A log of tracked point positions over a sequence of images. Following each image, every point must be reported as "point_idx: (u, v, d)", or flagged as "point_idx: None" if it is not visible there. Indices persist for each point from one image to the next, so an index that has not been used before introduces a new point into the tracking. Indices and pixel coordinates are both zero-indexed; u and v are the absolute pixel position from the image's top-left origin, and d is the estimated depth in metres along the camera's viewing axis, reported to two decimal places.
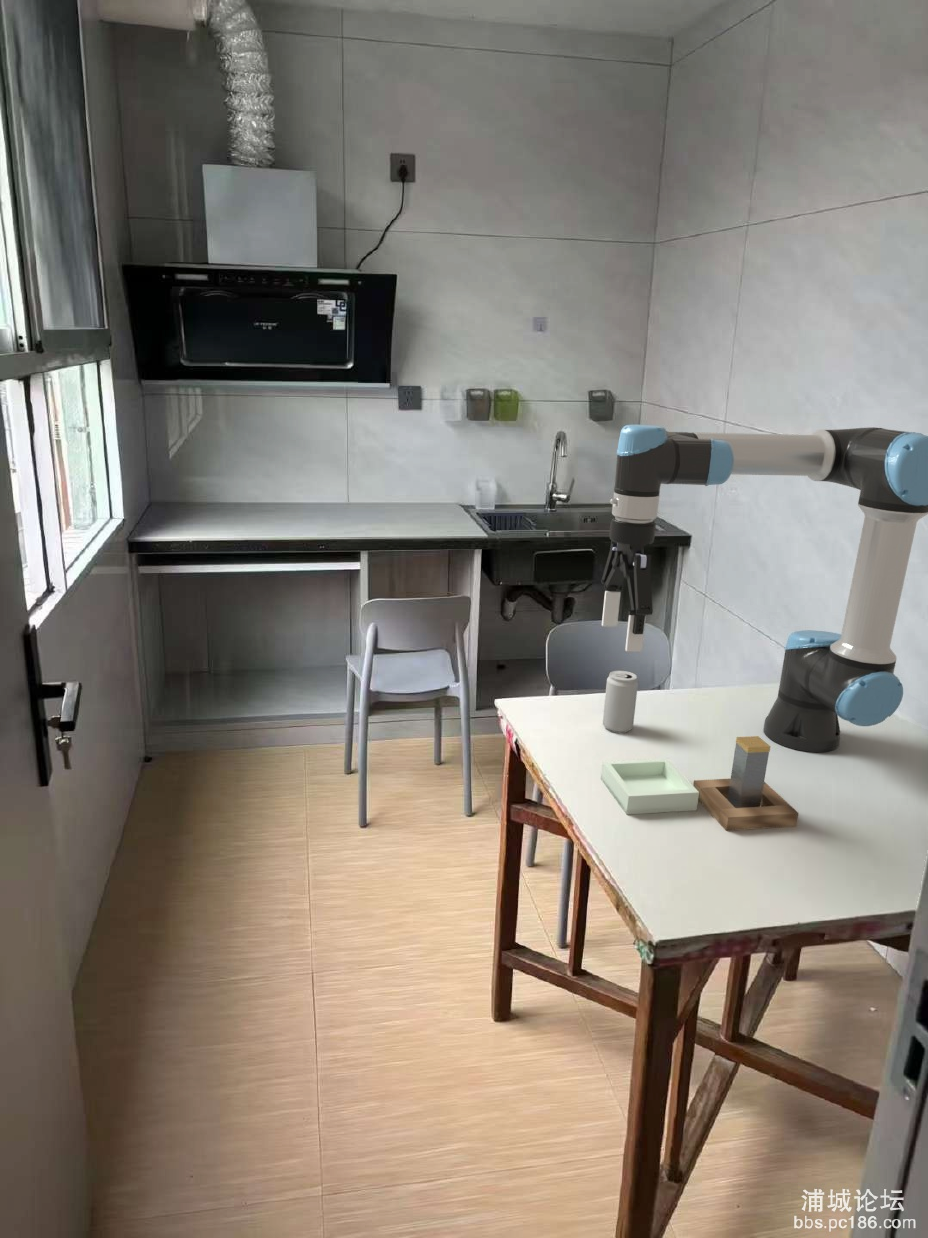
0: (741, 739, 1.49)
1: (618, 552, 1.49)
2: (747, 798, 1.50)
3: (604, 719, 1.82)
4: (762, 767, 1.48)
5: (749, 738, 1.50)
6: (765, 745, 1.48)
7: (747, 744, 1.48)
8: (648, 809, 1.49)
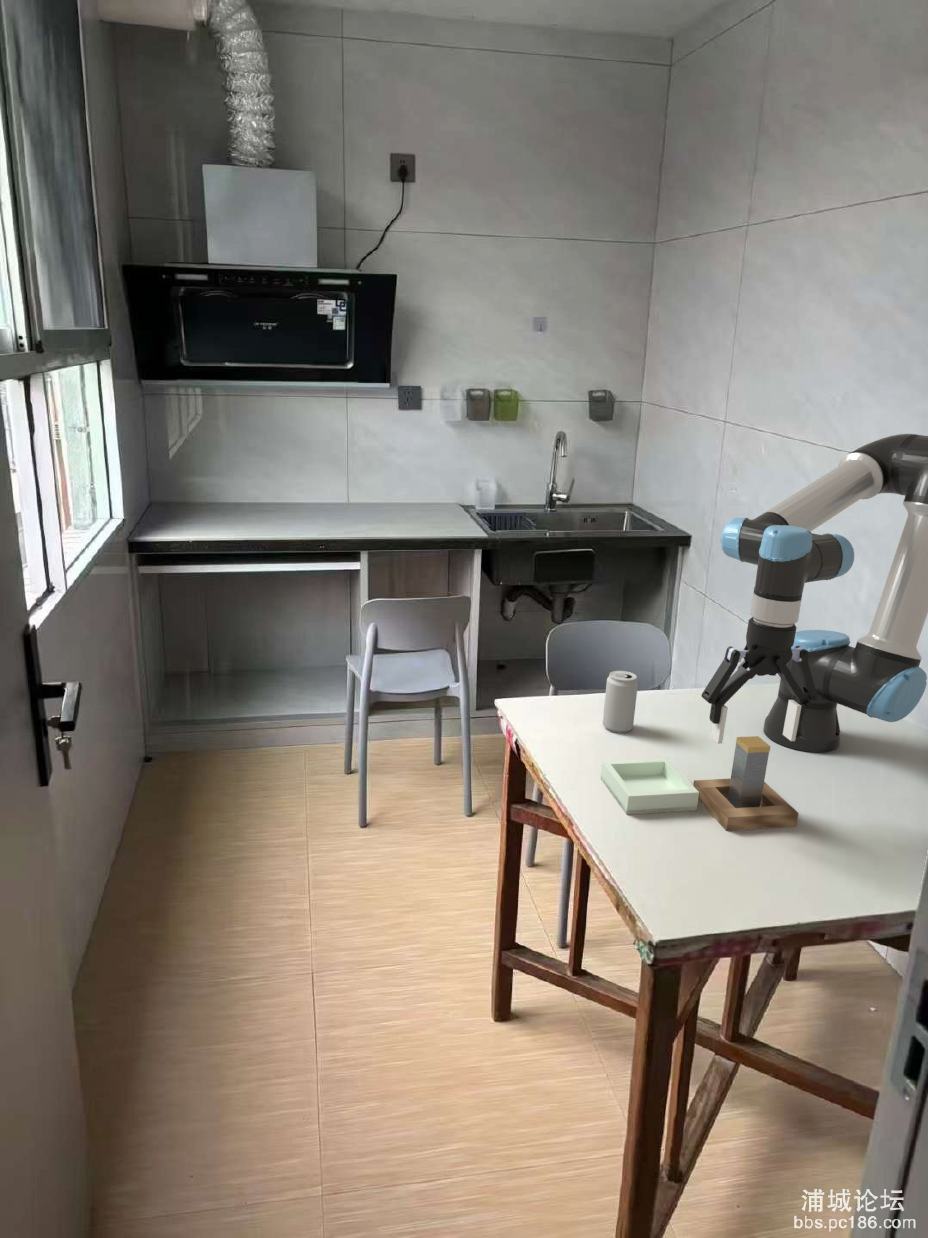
0: (741, 739, 1.49)
1: None
2: (747, 798, 1.50)
3: (604, 719, 1.82)
4: (762, 767, 1.48)
5: (749, 738, 1.50)
6: (765, 745, 1.48)
7: (747, 744, 1.48)
8: (648, 809, 1.49)
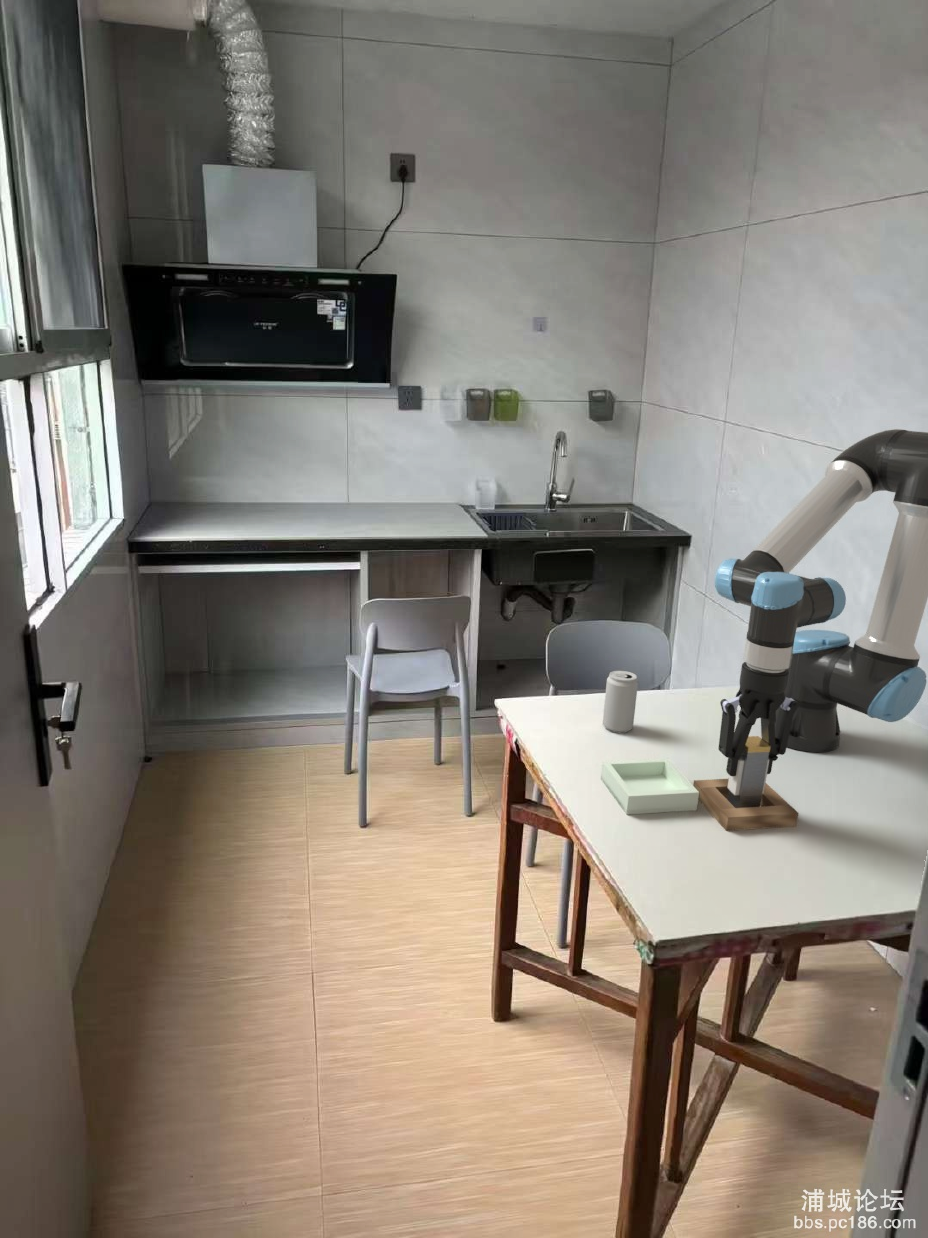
0: None
1: None
2: (747, 798, 1.50)
3: (604, 719, 1.82)
4: (762, 767, 1.48)
5: (749, 738, 1.50)
6: (765, 745, 1.48)
7: (747, 744, 1.48)
8: (648, 809, 1.49)
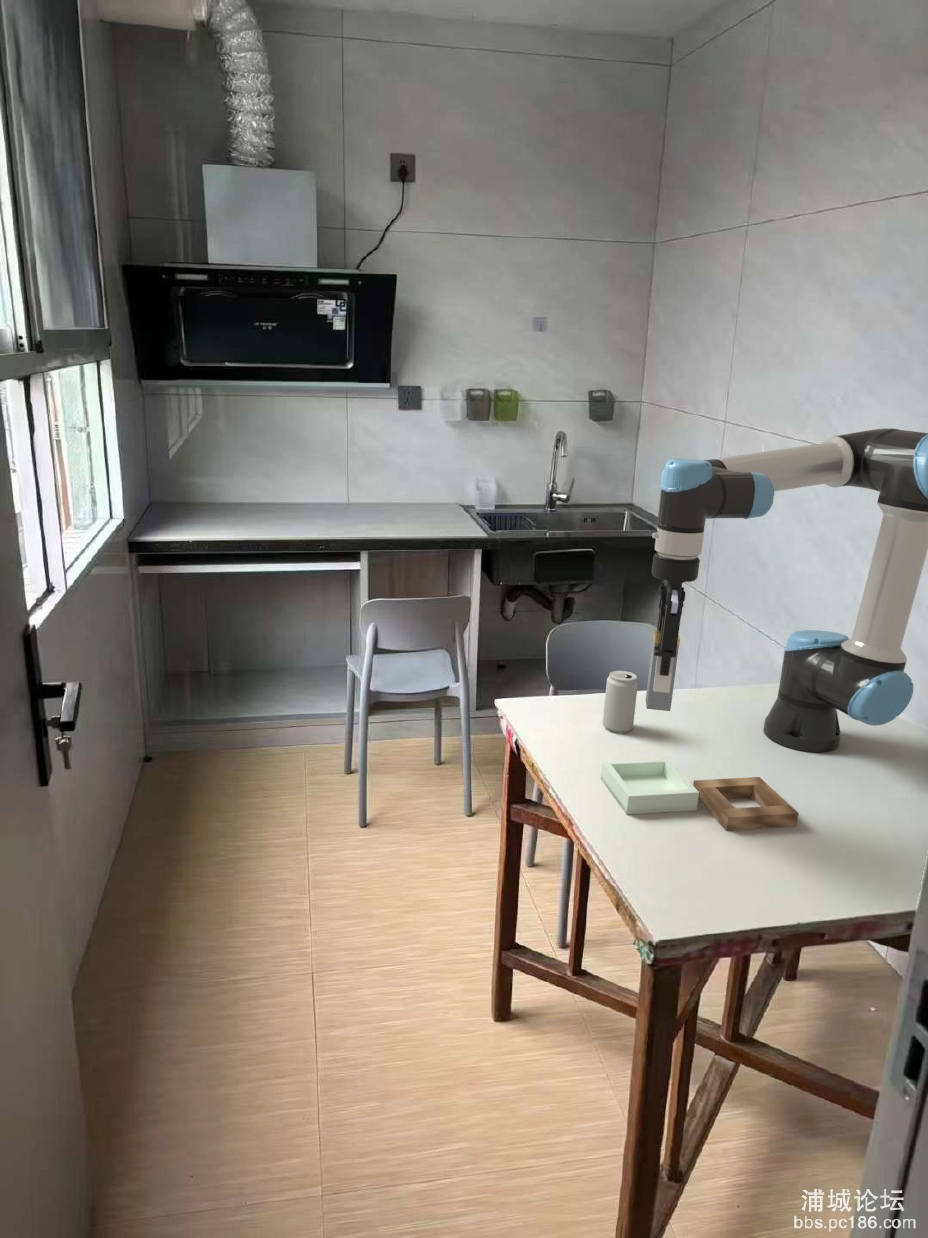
0: (660, 637, 1.46)
1: (661, 586, 1.46)
2: None
3: (604, 719, 1.82)
4: None
5: (659, 634, 1.47)
6: None
7: None
8: (648, 809, 1.49)
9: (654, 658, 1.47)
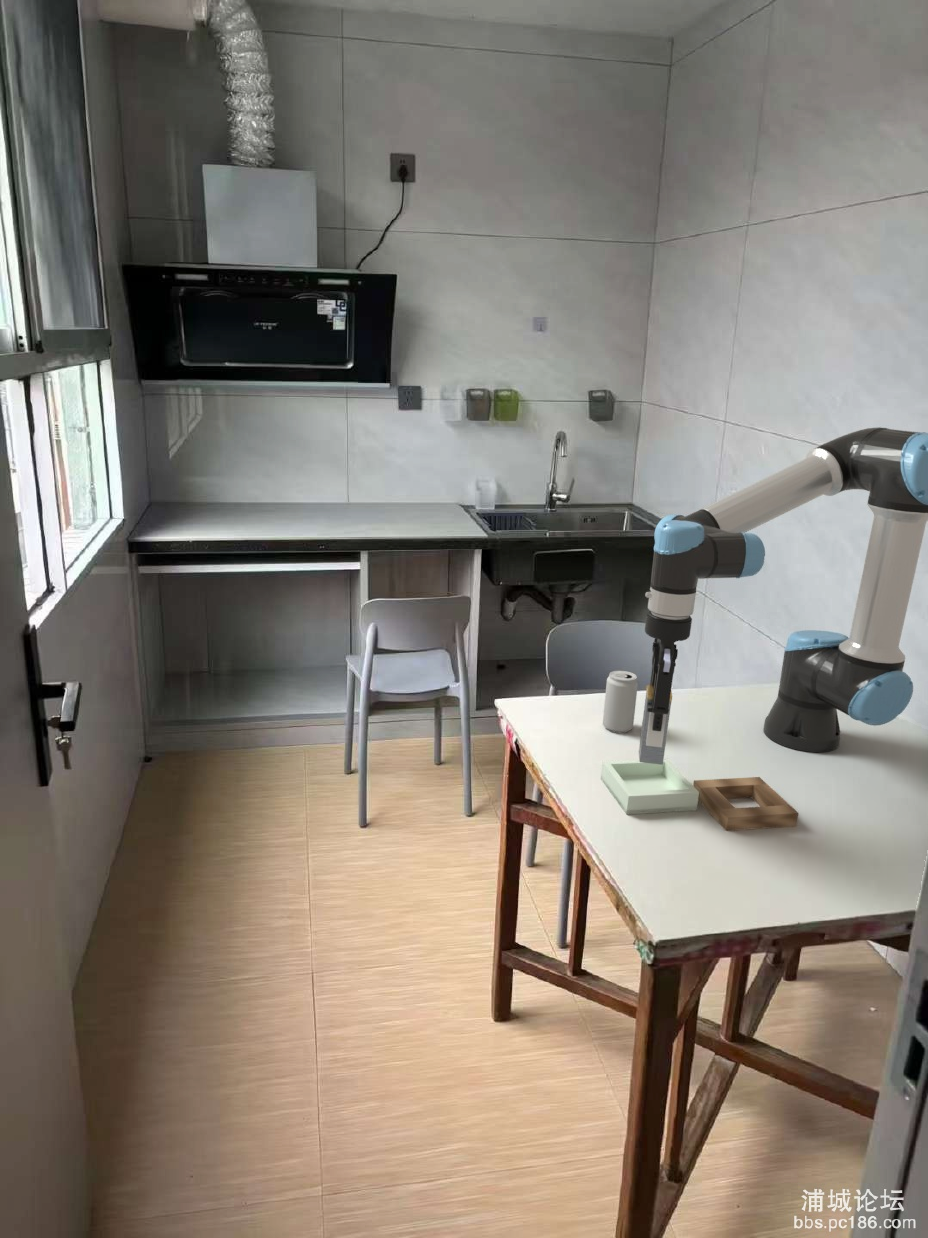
0: None
1: (654, 643, 1.49)
2: None
3: (604, 719, 1.82)
4: None
5: (652, 689, 1.50)
6: None
7: None
8: (648, 809, 1.49)
9: (647, 713, 1.50)
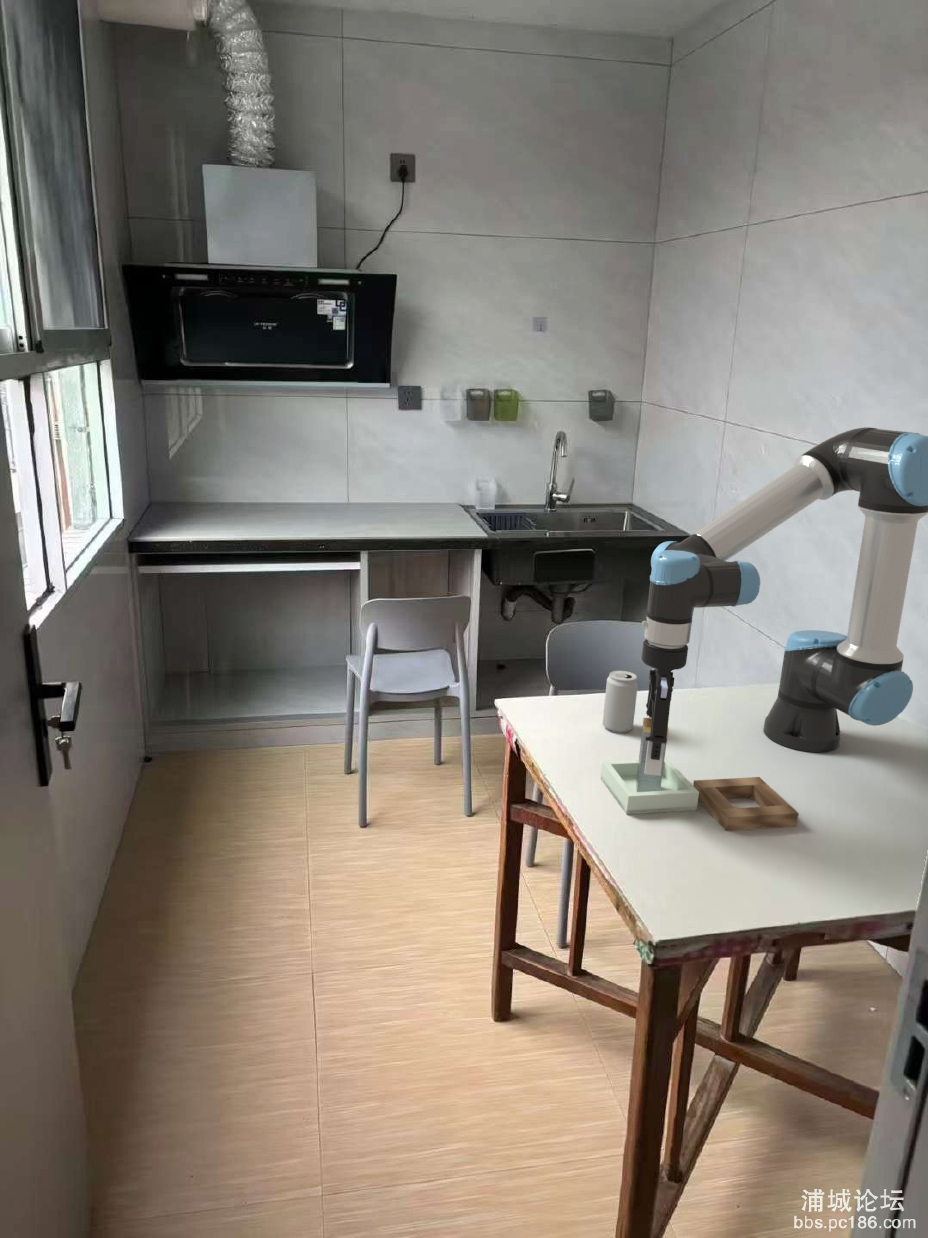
0: (650, 726, 1.51)
1: (651, 671, 1.50)
2: None
3: (604, 719, 1.82)
4: None
5: (648, 722, 1.52)
6: None
7: None
8: (648, 809, 1.49)
9: (643, 746, 1.52)
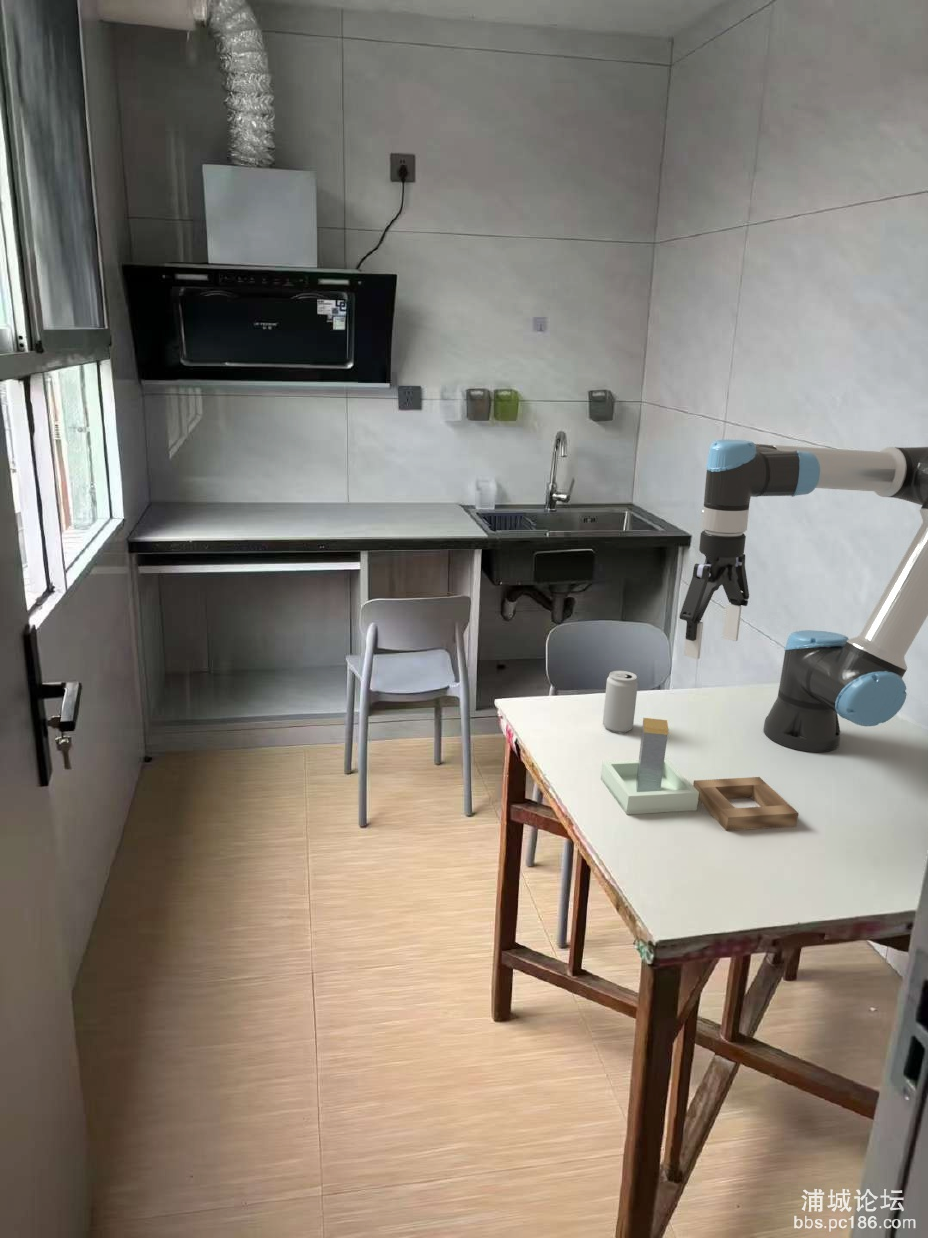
0: (650, 726, 1.51)
1: None
2: None
3: (604, 719, 1.82)
4: None
5: (648, 722, 1.52)
6: (663, 721, 1.53)
7: (661, 727, 1.50)
8: (648, 809, 1.49)
9: (643, 746, 1.52)
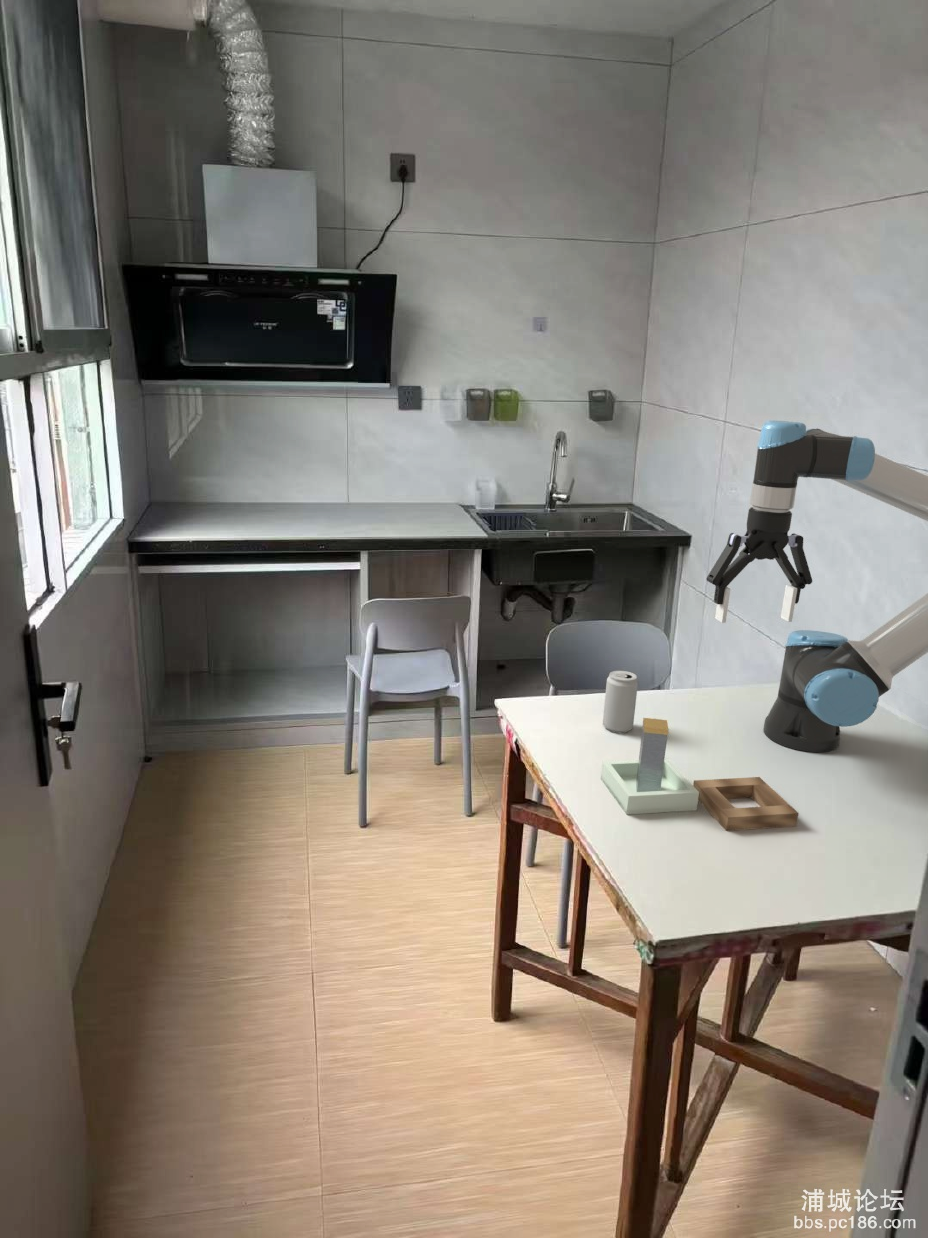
0: (650, 726, 1.51)
1: None
2: None
3: (604, 719, 1.82)
4: None
5: (648, 722, 1.52)
6: (663, 721, 1.53)
7: (661, 727, 1.50)
8: (648, 809, 1.49)
9: (643, 746, 1.52)
